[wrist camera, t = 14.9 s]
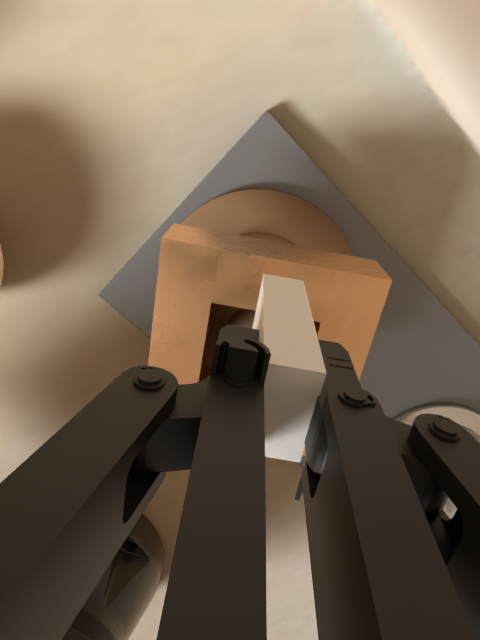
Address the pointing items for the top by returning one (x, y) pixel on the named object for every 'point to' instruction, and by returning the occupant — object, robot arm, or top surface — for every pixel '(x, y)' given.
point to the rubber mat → (406, 288)
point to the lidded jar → (1, 264)
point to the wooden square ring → (255, 293)
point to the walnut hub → (263, 236)
